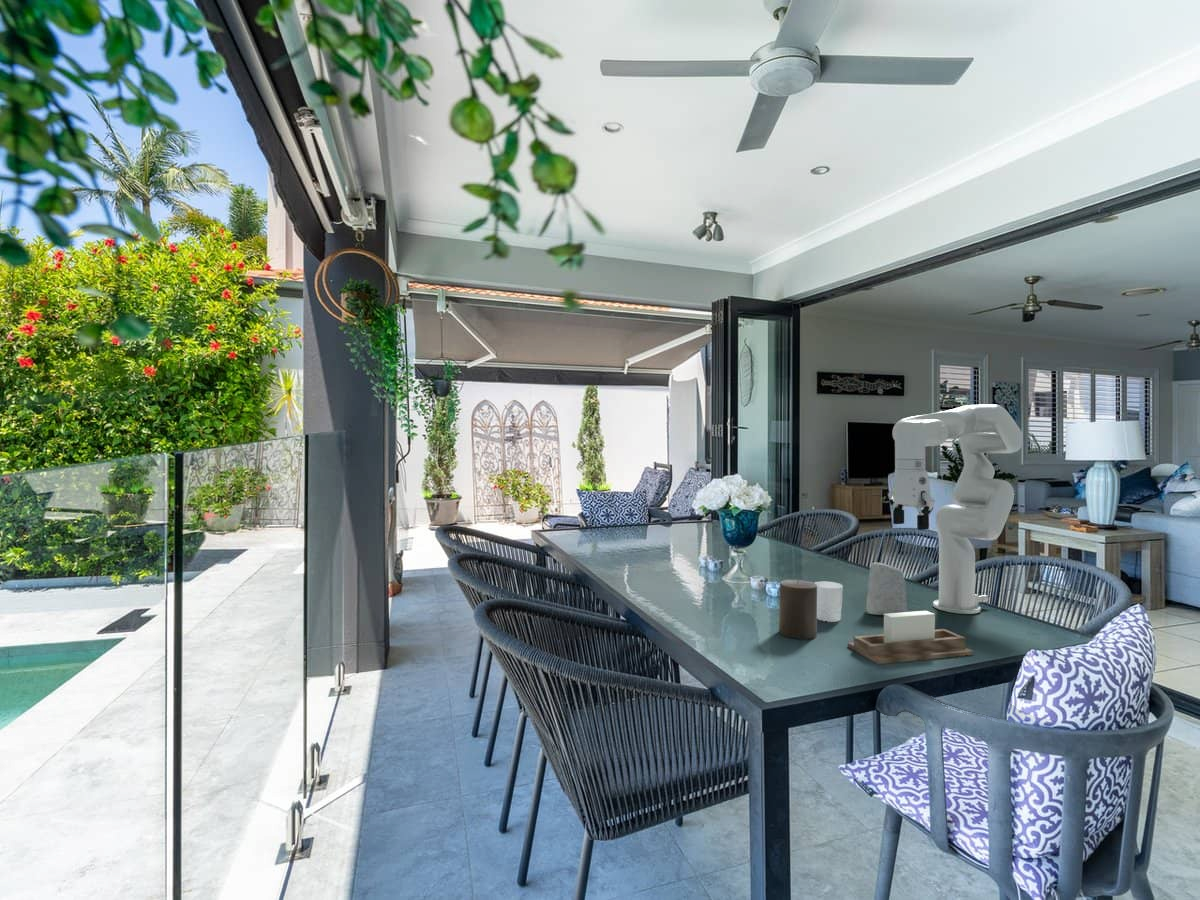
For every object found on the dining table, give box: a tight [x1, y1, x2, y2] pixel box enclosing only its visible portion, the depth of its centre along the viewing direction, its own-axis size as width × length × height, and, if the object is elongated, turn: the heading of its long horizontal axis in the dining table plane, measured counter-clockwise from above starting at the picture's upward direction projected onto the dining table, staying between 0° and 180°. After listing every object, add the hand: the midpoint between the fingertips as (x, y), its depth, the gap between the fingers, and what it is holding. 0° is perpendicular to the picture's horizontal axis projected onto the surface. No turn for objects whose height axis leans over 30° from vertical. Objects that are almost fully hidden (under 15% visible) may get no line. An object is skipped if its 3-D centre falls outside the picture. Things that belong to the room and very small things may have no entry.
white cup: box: [814, 580, 844, 623], centre depth 180 cm, size 8×8×10 cm
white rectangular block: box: [883, 610, 936, 643], centre depth 154 cm, size 12×3×8 cm, turn 101°
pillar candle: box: [778, 578, 818, 640], centre depth 168 cm, size 10×10×15 cm
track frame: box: [847, 628, 974, 665], centre depth 154 cm, size 26×12×3 cm, turn 101°
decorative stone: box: [866, 562, 908, 616], centre depth 184 cm, size 11×6×15 cm, turn 71°
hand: (910, 526), depth 173 cm, fingers open, 9 cm apart
